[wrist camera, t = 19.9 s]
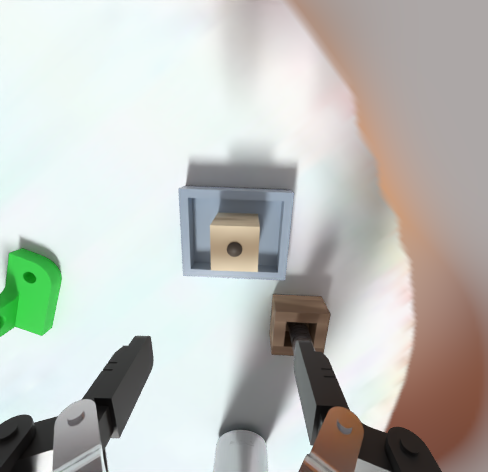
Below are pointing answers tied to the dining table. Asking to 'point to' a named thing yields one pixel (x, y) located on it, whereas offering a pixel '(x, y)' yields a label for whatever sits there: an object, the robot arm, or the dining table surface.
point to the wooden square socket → (297, 311)
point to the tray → (235, 201)
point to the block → (235, 242)
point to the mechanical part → (29, 293)
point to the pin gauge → (298, 333)
